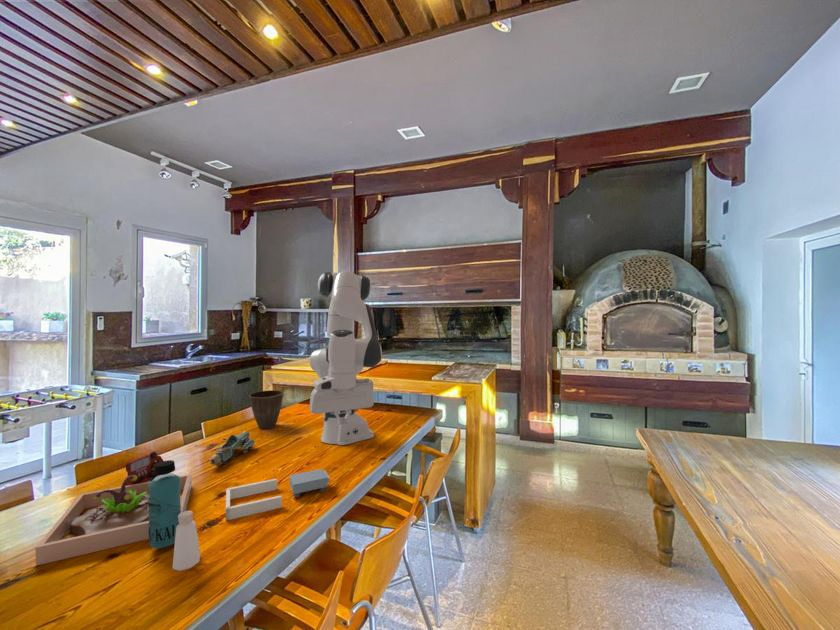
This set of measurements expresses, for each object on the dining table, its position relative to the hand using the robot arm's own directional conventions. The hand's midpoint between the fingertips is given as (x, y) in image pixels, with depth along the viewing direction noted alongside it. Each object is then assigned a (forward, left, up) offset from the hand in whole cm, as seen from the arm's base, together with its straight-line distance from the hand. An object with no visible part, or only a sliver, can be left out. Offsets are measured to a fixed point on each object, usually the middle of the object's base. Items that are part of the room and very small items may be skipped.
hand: (342, 424), depth 119 cm
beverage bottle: (+46, +12, -19) cm, 51 cm away
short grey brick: (+11, 0, -19) cm, 22 cm away
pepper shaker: (+41, +21, -19) cm, 50 cm away
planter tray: (+57, -7, -19) cm, 60 cm away
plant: (+58, -8, -20) cm, 62 cm away
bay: (+26, 0, -19) cm, 32 cm away
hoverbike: (+32, -42, -19) cm, 56 cm away
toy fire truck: (+56, -27, -19) cm, 65 cm away
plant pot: (+17, -75, -19) cm, 79 cm away
